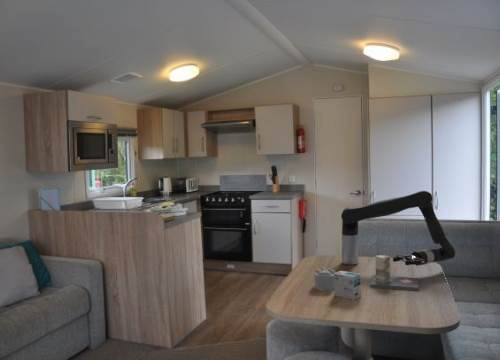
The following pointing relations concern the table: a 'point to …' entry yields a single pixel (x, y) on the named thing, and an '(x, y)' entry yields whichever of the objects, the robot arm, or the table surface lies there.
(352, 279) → the light bulb box
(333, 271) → the lumpy-topped squat cylinder
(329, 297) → the table surface
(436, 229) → the robot arm
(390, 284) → the charcoal board
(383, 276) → the pale ash block
